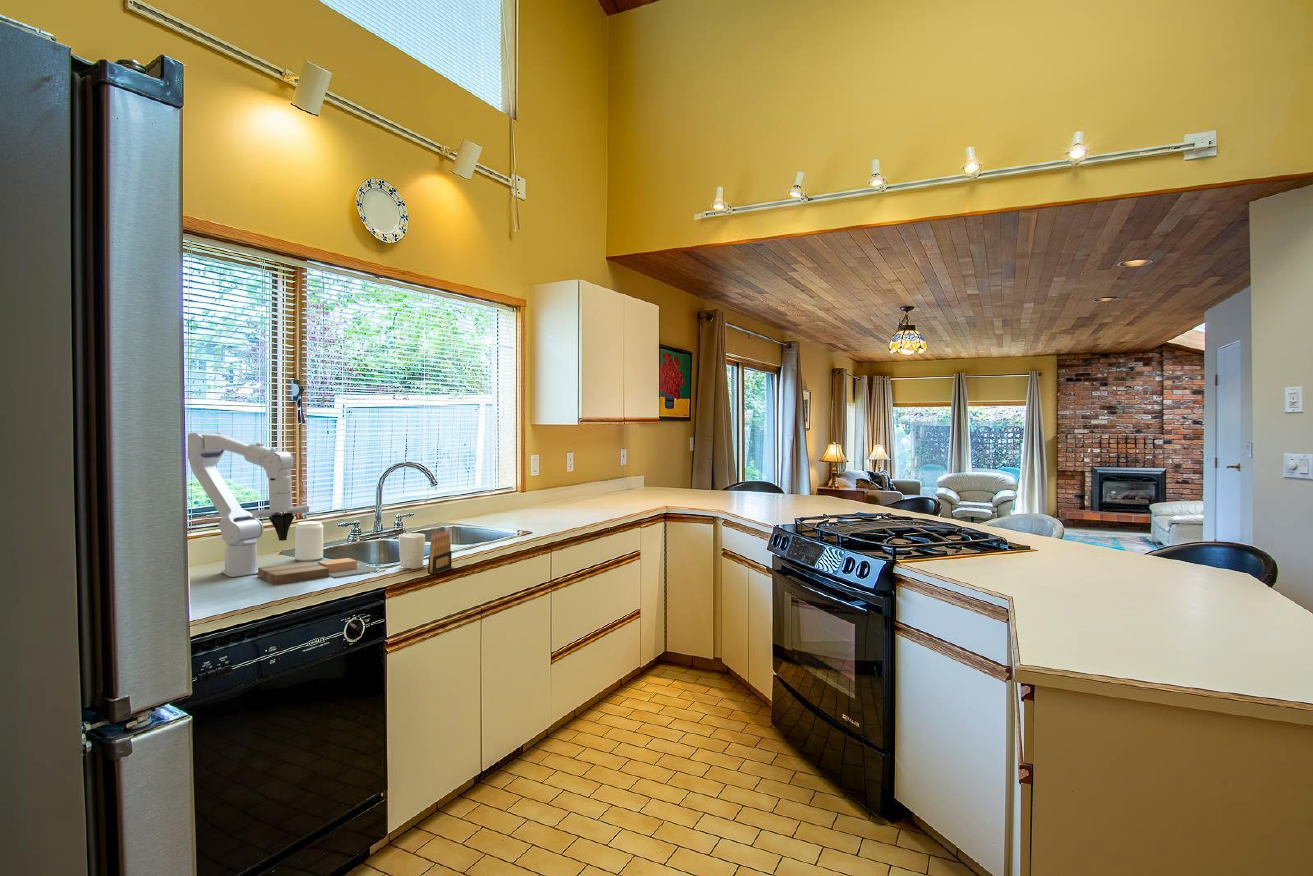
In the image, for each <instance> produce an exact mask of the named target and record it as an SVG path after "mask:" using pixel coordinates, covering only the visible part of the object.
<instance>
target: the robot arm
mask: <svg viewBox="0 0 1313 876" xmlns="http://www.w3.org/2000/svg"><path fill="white" fill-rule="evenodd" d="M187 435H188V457H187V459H188V461H189V465H190V469H191V471H192V473H193V475H194V476H195V478H196V479H197V482H198V483H199V484H200V486H201V487H202V489H203V490H204V492H205V494H206V495H207V497H208V498H209V500H210V501H211V503H212V505H213V506H214V508H215V510H217V512H218V514H219V516H220V517H221V519H220V521H219V523H218V524H217V527H218V528H219V530H220V535H221V538H222V540H223V541H224V542H225V545H226V547H225V551H224V569H222V570H221V571H220V573H222V574H224V575H225V576H227V577H230V578H233V577H234V578H235V577H243V576H249V575H256V574H257V575H258V568H257V560H258V559H257V557H258V555H257V553H258V542H259V541H260V540H259V539H260V538H261V537H262V535H263V533H264V525H263V523H262V521H261V520H260V519H258V518H268V519H269V521H270V522H271V524H272V525H273V527H274V529H275V533H276V535H277V538H278V541H281V542H282V541H287V538H288V533H289V529H290V527H291V524H292V523H293V520H294V518H295V514H304V513H305V514H307V513H310V506H309V505H302V506H301V505H299V506H293V493H292V492H293V490H292V473H291V470H292V469H294V467H295V464H296V459H295V457H294V455H293V454H292V453H291V452H289V451H288V450H285V451H284V450H283V451H278V449H277V448H276V447H268V446H264V443H263V442H256V443H255V442H253V443H250V444H248V443H246V442H243V441H240V440H238V439H236V438H233V437H231V436H229V435H228V434H222V433H221V432H213V433H211V432H210V433H209V432H208V433H205V432H204V433H203V432H202V433H200V432H199V433H198V432H190V433H188V434H187ZM225 451H227V452H230V453H233V454H237V455H242V456H243V458H244V460H245V461H246V462H247V463H250V464H254V465H257V466H259V467H262V468H263V469H264V471H265V473H266V477H267V478H268V481H267V482H268V498H269V499H268V501H269V509H261V510H260V509H259V510H252V511H251V512H250V511H248V510H245V509H244V508H242V505H241V504H240V503H239V502H238V500H237V498H236V497H235V496H234V494H233V492H232V490H231V489H230V487H229V486H228V485H227V483H226V482H225V480H224V478H223V477H222V475H221V473H220V472H219V470H218V469H217V467H216V465H217V464H218V463H219V462H220V461H221V458H222V456H223V455H224V453H225Z"/></svg>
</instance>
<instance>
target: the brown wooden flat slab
mask: <svg viewBox="0 0 1313 876" xmlns="http://www.w3.org/2000/svg"><path fill="white" fill-rule="evenodd" d="M257 570H258V574H257V577H259V578H260V579H263V580H265V581H268V582H269V583H271V584H273V585H276V586H277V585H283V584H289V583H297V582H304V581H311V580H316V579H322V578H324V579H325V578H329V577H330V576H329V568H327V567H324V566H321V565H318V563H315V562H314V561H299V562H294V563H286V564H285V563H284V564H279V565H278V564H277V565H276V564H275V565H269V566H261V567H257Z"/></svg>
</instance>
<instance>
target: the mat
mask: <svg viewBox="0 0 1313 876" xmlns="http://www.w3.org/2000/svg"><path fill="white" fill-rule="evenodd" d="M356 561H357V564H359V565H357V569H350V570H343V571H336V572H329V577H330V578H333V579H340V578H346V577H352V576H359V575H365V574H366V573H367V574H371V573H370V572H374V573H378V572H377V571H379V570H376V569H374V568H380V566H376V567H370V565H371V564H370V563H367V562H364V561H360V560H356ZM366 565H369V567H367V566H366Z"/></svg>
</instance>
